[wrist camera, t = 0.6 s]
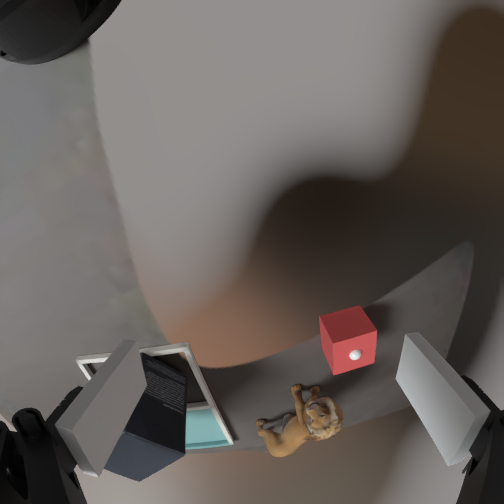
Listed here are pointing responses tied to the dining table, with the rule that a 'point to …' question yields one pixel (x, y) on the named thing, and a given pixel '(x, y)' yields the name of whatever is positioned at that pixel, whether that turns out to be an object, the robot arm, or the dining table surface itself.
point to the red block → (348, 339)
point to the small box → (153, 424)
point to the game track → (198, 414)
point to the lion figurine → (303, 423)
